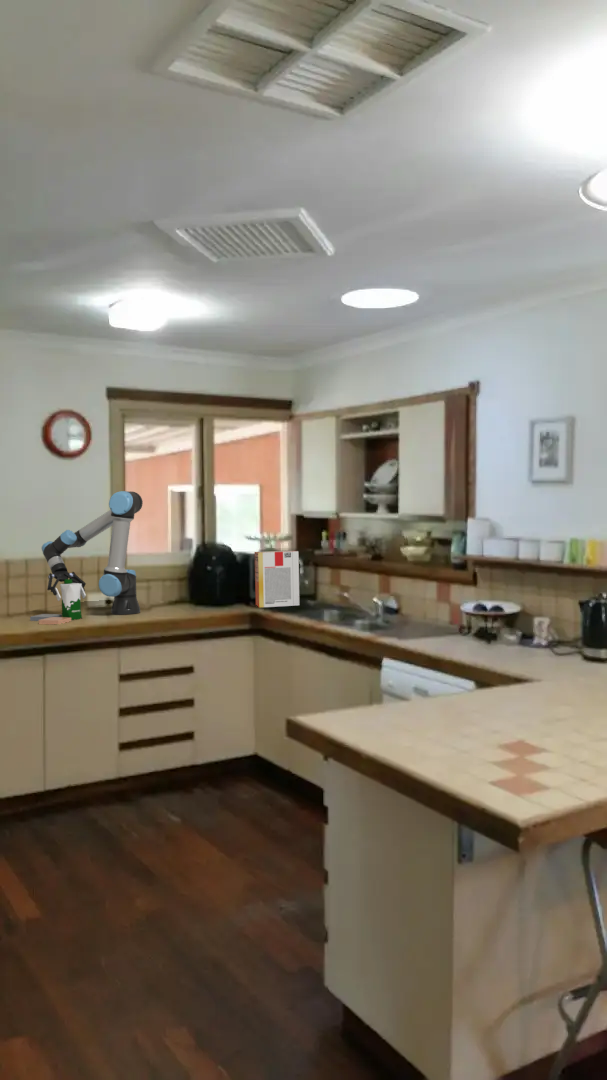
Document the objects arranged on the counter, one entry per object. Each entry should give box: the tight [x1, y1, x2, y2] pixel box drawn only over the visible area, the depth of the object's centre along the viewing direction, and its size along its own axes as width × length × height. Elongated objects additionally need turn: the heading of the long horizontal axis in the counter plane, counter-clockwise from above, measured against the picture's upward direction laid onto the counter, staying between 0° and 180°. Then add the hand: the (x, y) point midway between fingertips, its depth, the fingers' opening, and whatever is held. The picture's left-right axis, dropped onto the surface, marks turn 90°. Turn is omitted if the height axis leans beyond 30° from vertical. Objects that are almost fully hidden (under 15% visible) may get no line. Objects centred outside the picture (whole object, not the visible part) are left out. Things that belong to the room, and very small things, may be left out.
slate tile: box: [29, 613, 62, 622], centre depth 431 cm, size 11×11×2 cm
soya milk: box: [59, 578, 83, 621], centre depth 430 cm, size 9×9×20 cm
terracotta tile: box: [38, 617, 72, 625], centre depth 418 cm, size 11×11×2 cm
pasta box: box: [254, 550, 300, 609], centre depth 472 cm, size 23×8×30 cm, turn 107°
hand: (72, 598), depth 429 cm, fingers open, 13 cm apart
